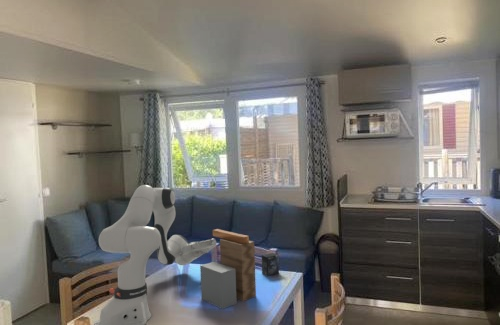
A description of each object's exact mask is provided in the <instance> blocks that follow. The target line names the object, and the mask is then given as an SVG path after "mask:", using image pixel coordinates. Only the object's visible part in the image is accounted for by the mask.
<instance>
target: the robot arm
mask: <svg viewBox="0 0 500 325" xmlns="http://www.w3.org/2000/svg"><path fill="white" fill-rule="evenodd" d="M175 204H176V193H175V191H174V189H172V188H171V187H166V186H165V187H152V186H151V185H148V184H142V185H139V186H138V187H137V188H136V189H135V190H134V191H133V192H132V193H131V195H130V199H129V203H128V205H127V208H126V210H125V212H124V213H123V215H122V216H121V217H120V218H119V219H118V220H117V221H116V222H115V223H113V224H112V225H110V226H108V227H106V228H103V229H102V231H101V232H100V233H99V236H98V245H99V248H100V249H101V250H102V251H103V252H107V253H112V254H129V255H130V256H129V257H130V258H129V259H127V260H126V261H124V262H122V263H121V264H120V265H119V266H118V268H117V287H116V288H113V287H111V288H110V289H109V293H110V294H112V295H113V297H112V298H111V299H110V300H109V302H107V304H105V305H104V306H103V307H102V309H101V310H100V313H99V319H97V320H95V321H94V325H146V324H147V322H148V321H149V320H150V318H151V317H152V314H151V311H150V309H149V304H148V303H149V302H148V298H147V295H148V285H147V282H146V268H147V267H146V266H147V263H148V260H149V258H150V257H151V255H152V254H154V252H156V258H157V260H158V261H159V264H162V265H164V266H169V265H170V266H171V265H173V264H174V262H175V263H176V264H177V265H178V266H186V265H189V264H190V263H192V262H193V261H194V260H197V259H198V258H200V257H201V256H203V255H205V254H208V253H210V251H211V250H212V249H214V248H215V247H216V246H217V245H218V244H217V241H216V238H210V239H206V240H202V241H192V242H189V241H188V239H186V237H185V236H183V235H181V234H173V235H172V236H170V237H169V239H167V238H168V232H169V230H170V228H171V226H172V224H173V223H174V221H175V218H176V207H175ZM152 215H153V216H154V225H153V226H147V225H148V224H149V223H150V222H151V221H150V220H151V218H152Z"/></svg>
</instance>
